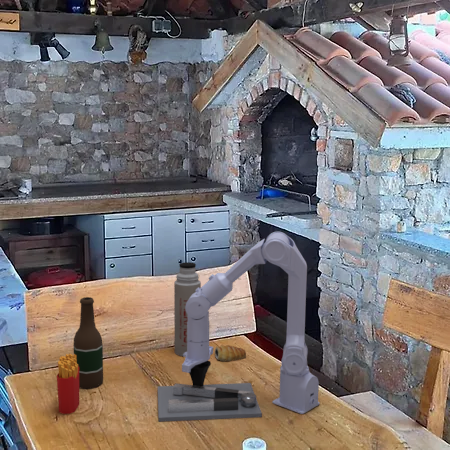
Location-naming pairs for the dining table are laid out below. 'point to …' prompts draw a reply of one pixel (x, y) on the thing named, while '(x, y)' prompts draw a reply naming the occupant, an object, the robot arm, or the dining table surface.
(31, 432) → the dining table surface
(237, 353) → the pastry
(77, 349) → the beer bottle
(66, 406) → the french fries
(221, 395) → the tongs moving arm
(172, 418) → the slate board
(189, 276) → the thermos bottle
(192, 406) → the arm
